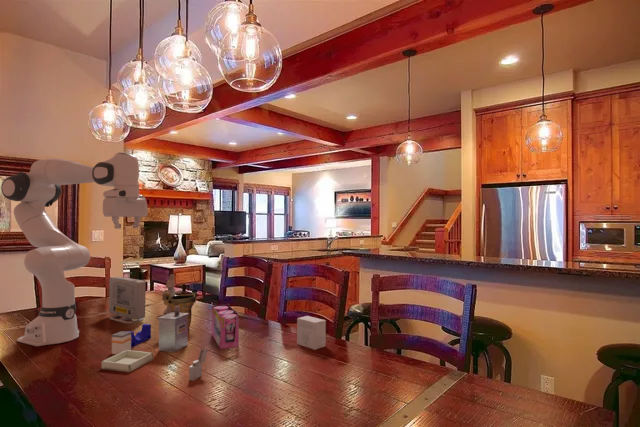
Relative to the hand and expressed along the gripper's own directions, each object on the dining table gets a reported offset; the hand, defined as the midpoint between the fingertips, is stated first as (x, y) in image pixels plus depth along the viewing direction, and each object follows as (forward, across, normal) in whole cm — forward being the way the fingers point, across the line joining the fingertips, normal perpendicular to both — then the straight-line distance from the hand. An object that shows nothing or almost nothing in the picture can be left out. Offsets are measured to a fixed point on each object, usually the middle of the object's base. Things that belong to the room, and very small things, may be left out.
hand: (127, 228), depth 148 cm
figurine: (+46, -50, -17) cm, 70 cm away
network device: (+46, -33, -30) cm, 64 cm away
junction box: (+47, -3, +19) cm, 51 cm away
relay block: (+47, +6, +3) cm, 47 cm away
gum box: (+47, -16, +34) cm, 60 cm away
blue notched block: (+47, -5, 0) cm, 47 cm away
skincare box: (+48, -20, +70) cm, 87 cm away
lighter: (+47, +18, +43) cm, 66 cm away
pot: (+47, -24, +8) cm, 53 cm away
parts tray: (+47, +15, +14) cm, 51 cm away
